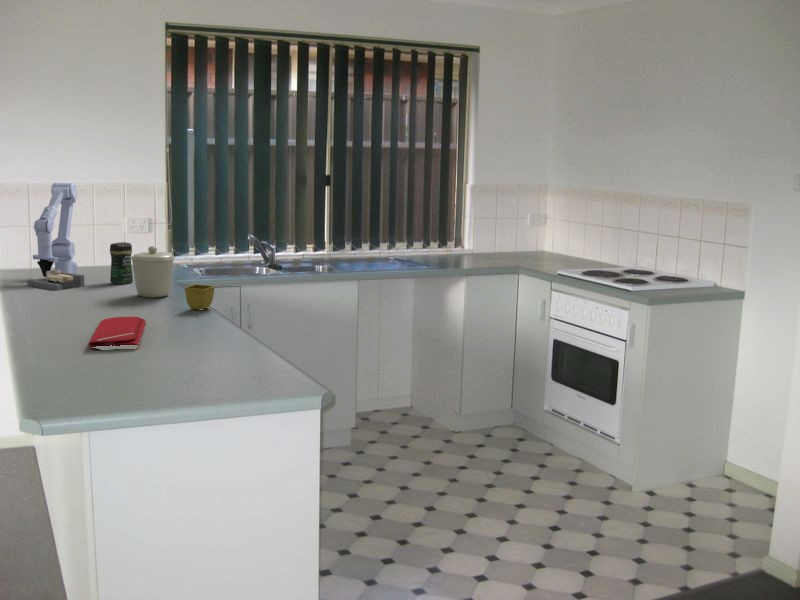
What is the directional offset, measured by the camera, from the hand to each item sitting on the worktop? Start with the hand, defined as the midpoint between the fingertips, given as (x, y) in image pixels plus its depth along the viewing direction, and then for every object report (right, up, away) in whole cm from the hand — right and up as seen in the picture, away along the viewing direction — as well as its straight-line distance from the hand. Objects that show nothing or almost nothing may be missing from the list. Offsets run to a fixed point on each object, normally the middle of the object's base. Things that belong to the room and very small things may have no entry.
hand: (46, 276), depth 395 cm
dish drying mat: (+62, -23, -93) cm, 114 cm away
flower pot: (+79, -14, -46) cm, 92 cm away
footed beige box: (+8, -3, -5) cm, 10 cm away
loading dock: (+5, -5, -3) cm, 7 cm away
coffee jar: (+31, -3, +8) cm, 32 cm away
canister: (+54, -9, -20) cm, 58 cm away
